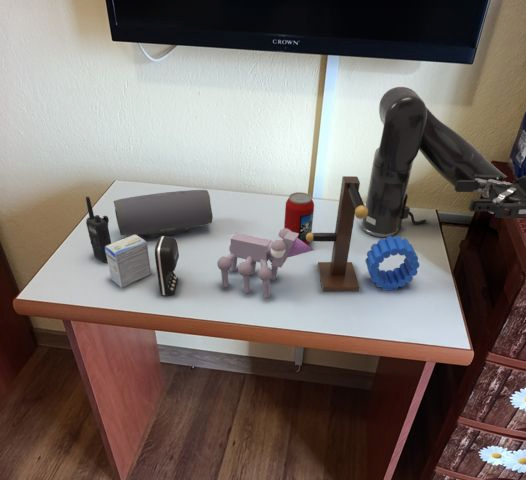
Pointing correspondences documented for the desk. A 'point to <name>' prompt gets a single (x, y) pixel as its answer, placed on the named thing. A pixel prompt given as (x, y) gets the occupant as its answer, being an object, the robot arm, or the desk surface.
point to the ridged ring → (398, 275)
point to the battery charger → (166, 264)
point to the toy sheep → (260, 256)
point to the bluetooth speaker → (163, 212)
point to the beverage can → (299, 214)
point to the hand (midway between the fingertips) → (462, 195)
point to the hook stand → (341, 239)
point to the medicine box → (128, 260)
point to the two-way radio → (98, 232)
